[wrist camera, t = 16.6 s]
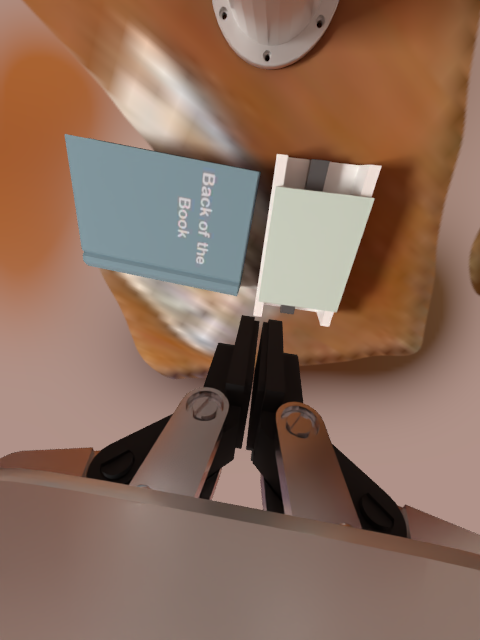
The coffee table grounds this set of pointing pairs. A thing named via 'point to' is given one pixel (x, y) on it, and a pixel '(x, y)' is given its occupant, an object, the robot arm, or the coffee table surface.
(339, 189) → the white channel
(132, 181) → the book
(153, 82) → the coffee table surface
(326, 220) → the cover
